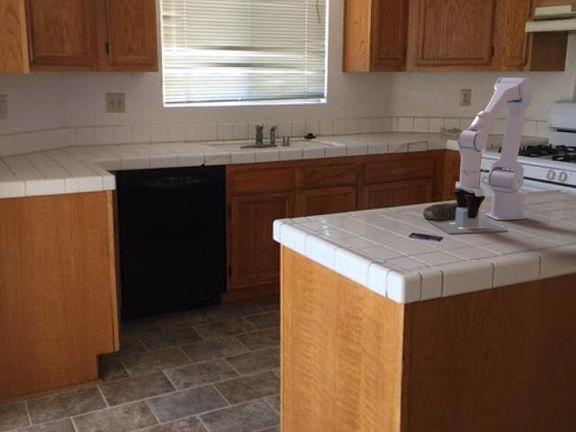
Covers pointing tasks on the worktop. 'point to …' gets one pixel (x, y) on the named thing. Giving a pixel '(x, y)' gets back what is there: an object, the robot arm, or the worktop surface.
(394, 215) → the worktop surface
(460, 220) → the gray cube
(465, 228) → the letter board
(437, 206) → the rock
